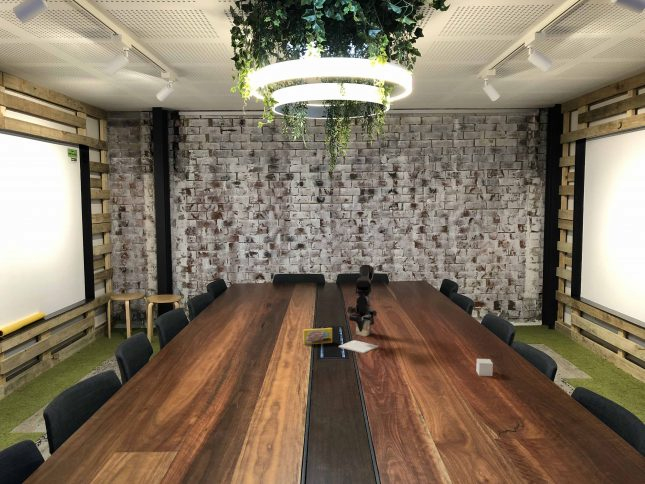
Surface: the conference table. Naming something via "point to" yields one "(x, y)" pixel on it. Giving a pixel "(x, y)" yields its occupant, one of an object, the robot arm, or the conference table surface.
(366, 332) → the maple block
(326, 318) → the conference table surface
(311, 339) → the candy box
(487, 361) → the white cube
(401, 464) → the conference table surface
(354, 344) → the mat
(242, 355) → the conference table surface
